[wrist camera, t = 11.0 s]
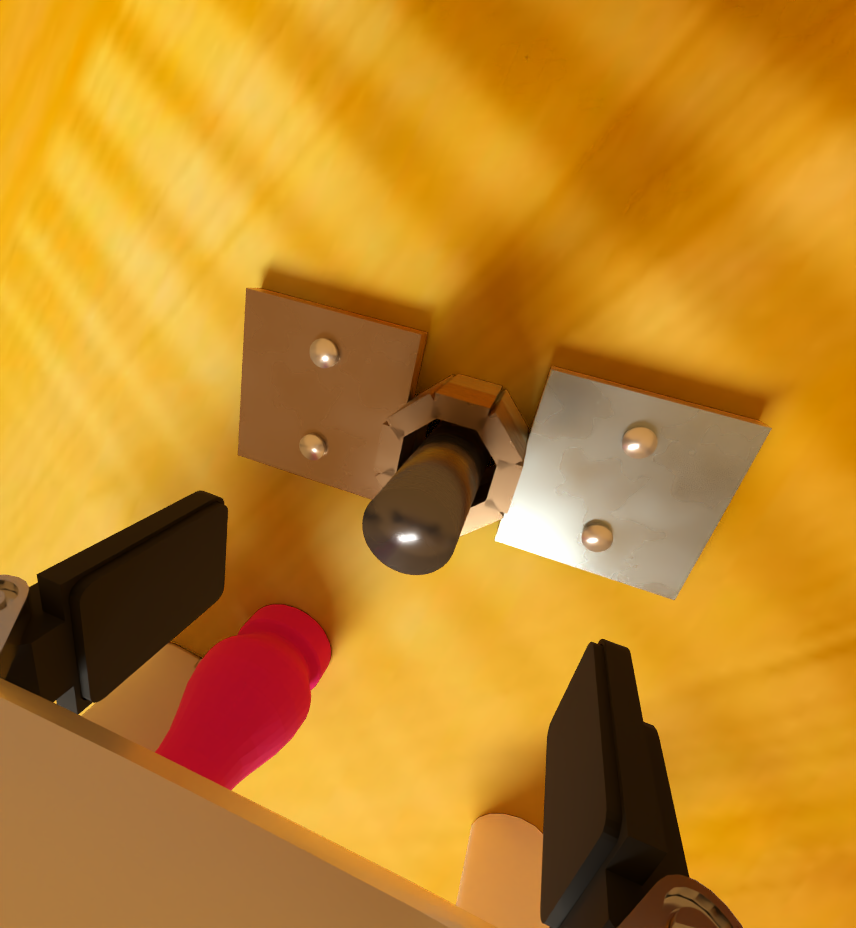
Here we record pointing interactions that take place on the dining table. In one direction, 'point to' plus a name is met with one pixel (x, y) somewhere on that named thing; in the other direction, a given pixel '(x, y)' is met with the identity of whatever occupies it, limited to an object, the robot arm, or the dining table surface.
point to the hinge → (495, 441)
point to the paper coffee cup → (503, 872)
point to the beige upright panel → (147, 698)
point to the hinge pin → (427, 501)
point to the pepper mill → (248, 696)
